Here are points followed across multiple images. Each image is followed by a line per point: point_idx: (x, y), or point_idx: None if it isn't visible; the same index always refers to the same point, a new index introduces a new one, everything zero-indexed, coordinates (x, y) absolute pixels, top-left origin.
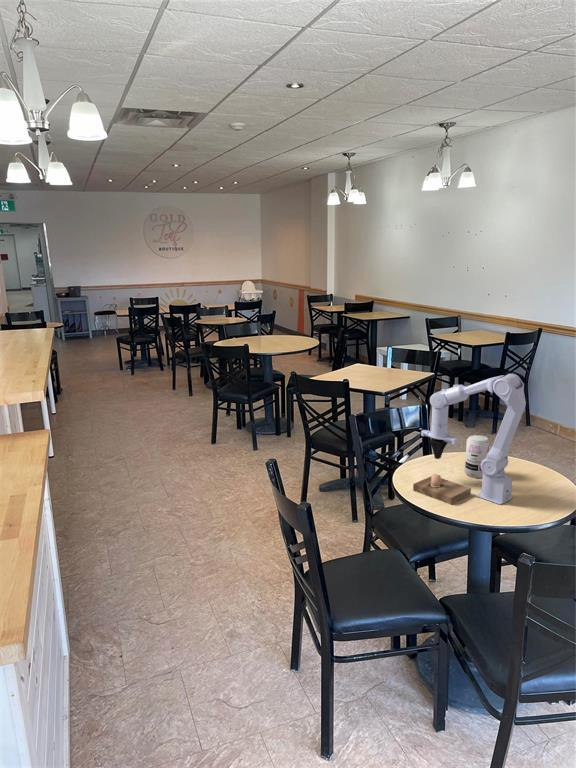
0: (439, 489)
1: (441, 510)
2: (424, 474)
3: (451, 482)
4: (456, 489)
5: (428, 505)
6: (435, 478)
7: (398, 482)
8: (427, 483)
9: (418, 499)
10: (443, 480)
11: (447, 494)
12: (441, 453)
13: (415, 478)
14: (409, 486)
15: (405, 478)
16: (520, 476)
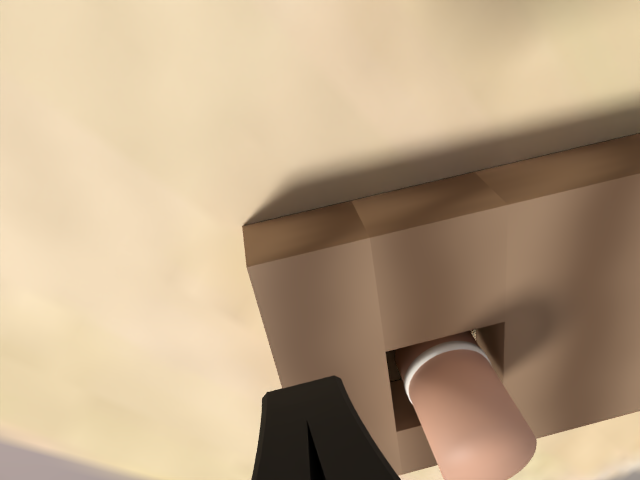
0: (526, 396)
1: (623, 440)
2: (4, 177)
3: (515, 222)
4: (636, 285)
5: (531, 465)
6: (506, 469)
7: (113, 469)
8: (377, 413)
9: (436, 475)
10: (424, 259)
11: (623, 395)
12: (374, 461)
13: (85, 322)
14: (229, 438)
15: (48, 394)
16: None
